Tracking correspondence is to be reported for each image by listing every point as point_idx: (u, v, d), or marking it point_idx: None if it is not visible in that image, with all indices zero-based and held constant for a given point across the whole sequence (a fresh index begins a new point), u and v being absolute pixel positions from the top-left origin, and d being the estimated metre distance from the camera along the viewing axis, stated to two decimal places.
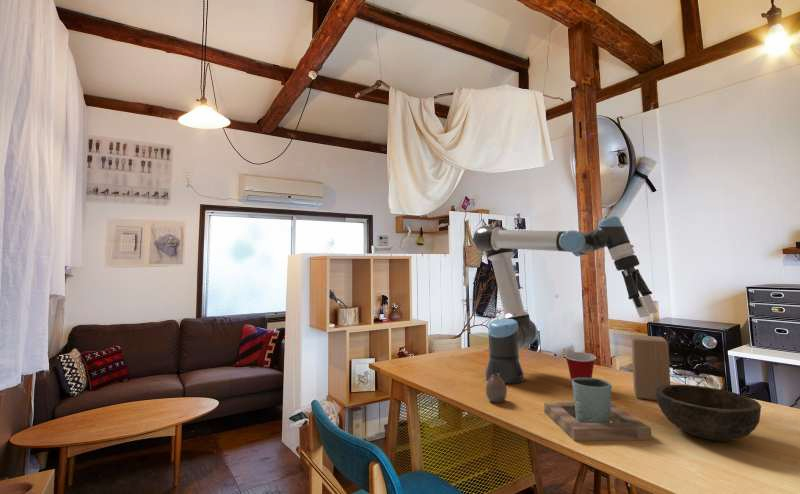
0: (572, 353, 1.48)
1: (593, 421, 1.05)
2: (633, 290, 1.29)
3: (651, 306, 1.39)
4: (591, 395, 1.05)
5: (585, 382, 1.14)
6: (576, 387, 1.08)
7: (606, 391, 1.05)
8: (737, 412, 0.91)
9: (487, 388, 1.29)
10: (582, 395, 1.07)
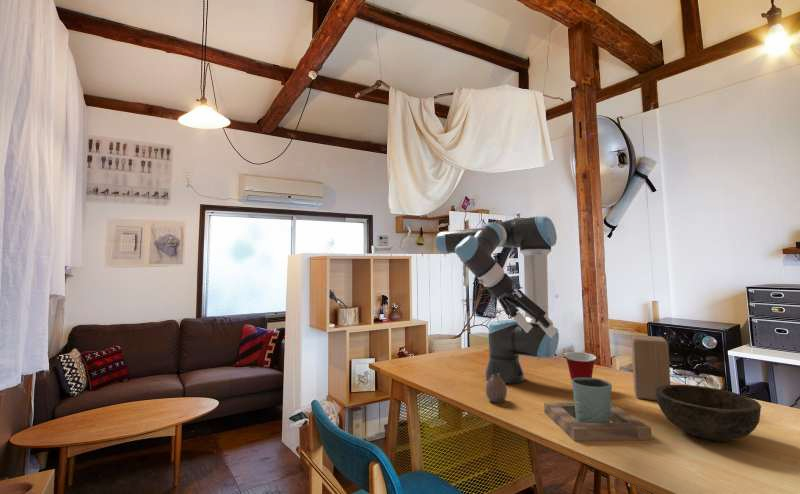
0: (572, 353, 1.48)
1: (593, 421, 1.05)
2: None
3: None
4: (591, 395, 1.05)
5: (585, 382, 1.14)
6: (576, 387, 1.08)
7: (606, 391, 1.05)
8: (737, 412, 0.91)
9: (487, 388, 1.29)
10: (582, 395, 1.07)
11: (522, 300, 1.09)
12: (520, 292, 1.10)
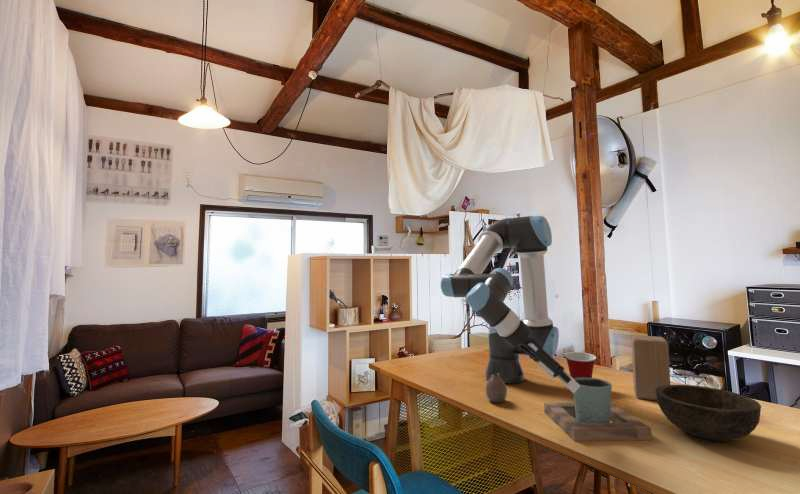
0: (572, 353, 1.48)
1: (593, 421, 1.05)
2: None
3: None
4: (591, 395, 1.05)
5: (585, 382, 1.14)
6: None
7: (606, 391, 1.05)
8: (737, 412, 0.91)
9: (487, 388, 1.29)
10: (582, 395, 1.07)
11: (538, 354, 1.02)
12: (535, 345, 1.03)
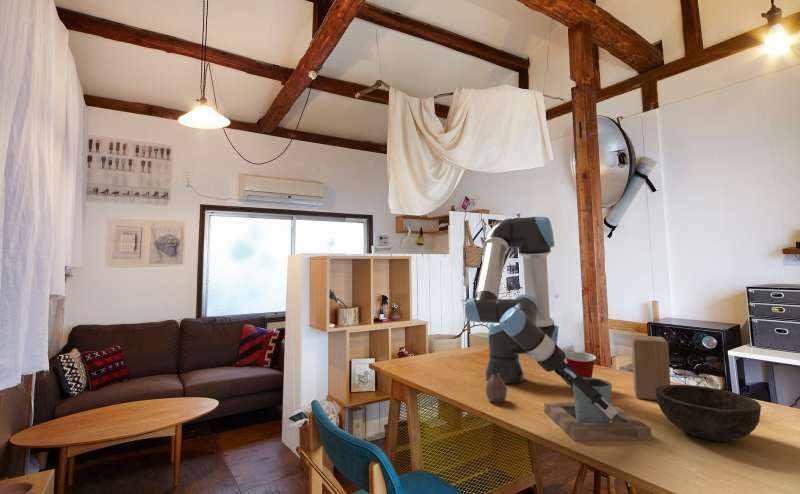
0: (572, 353, 1.48)
1: (593, 421, 1.05)
2: None
3: None
4: None
5: None
6: (576, 387, 1.08)
7: (606, 391, 1.05)
8: (737, 412, 0.91)
9: (487, 388, 1.29)
10: (582, 395, 1.07)
11: (577, 381, 1.03)
12: (575, 372, 1.03)
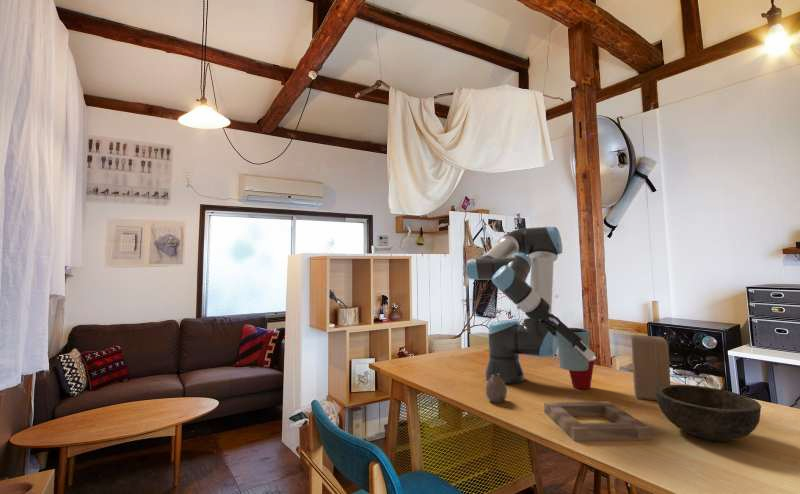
0: None
1: (574, 362, 1.20)
2: None
3: None
4: None
5: None
6: (559, 334, 1.23)
7: (585, 336, 1.20)
8: (737, 412, 0.91)
9: (487, 388, 1.29)
10: (564, 340, 1.22)
11: (559, 327, 1.18)
12: (557, 320, 1.18)
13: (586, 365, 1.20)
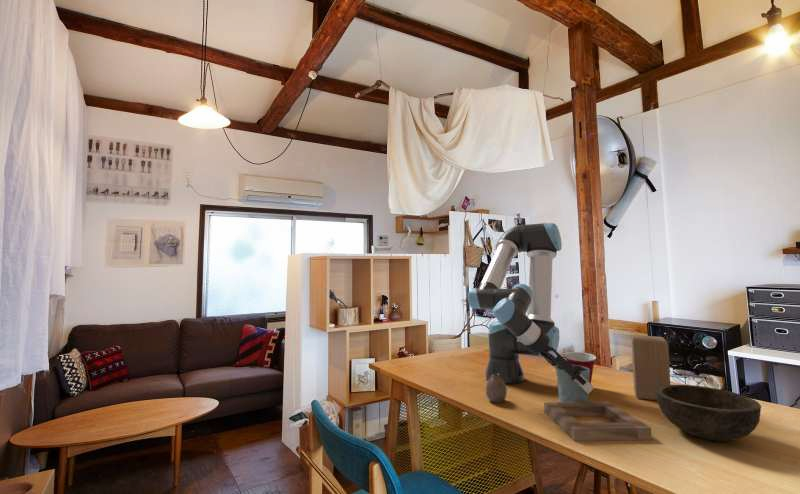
0: (572, 353, 1.48)
1: (573, 401, 1.21)
2: None
3: None
4: None
5: None
6: (559, 372, 1.24)
7: (584, 375, 1.21)
8: (737, 412, 0.91)
9: (487, 388, 1.29)
10: (564, 379, 1.23)
11: (557, 360, 1.19)
12: (555, 352, 1.19)
13: None
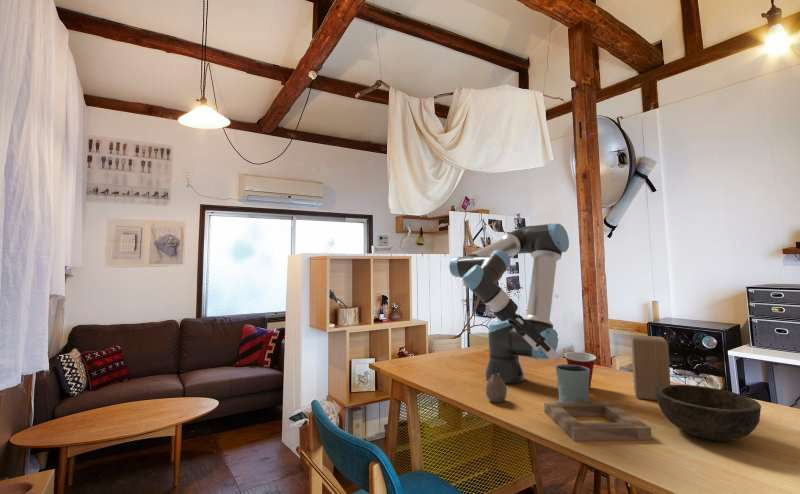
0: (572, 353, 1.48)
1: (573, 401, 1.21)
2: None
3: None
4: (572, 379, 1.21)
5: (568, 368, 1.30)
6: (559, 372, 1.24)
7: (584, 375, 1.21)
8: (737, 412, 0.91)
9: (487, 388, 1.29)
10: (564, 379, 1.23)
11: (523, 326, 1.19)
12: (522, 319, 1.20)
13: None
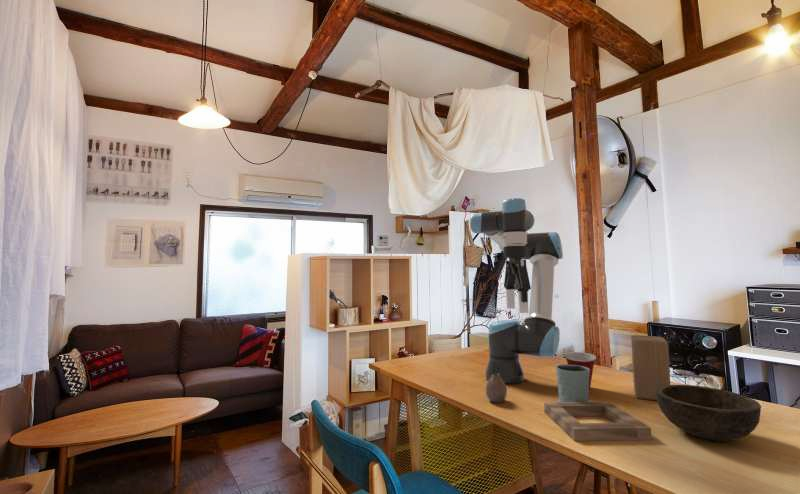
0: (572, 353, 1.48)
1: (573, 401, 1.21)
2: None
3: None
4: (572, 379, 1.21)
5: (567, 368, 1.30)
6: (559, 372, 1.24)
7: (584, 375, 1.21)
8: (737, 412, 0.91)
9: (487, 388, 1.29)
10: (564, 379, 1.23)
11: (521, 268, 1.19)
12: (524, 262, 1.20)
13: None
